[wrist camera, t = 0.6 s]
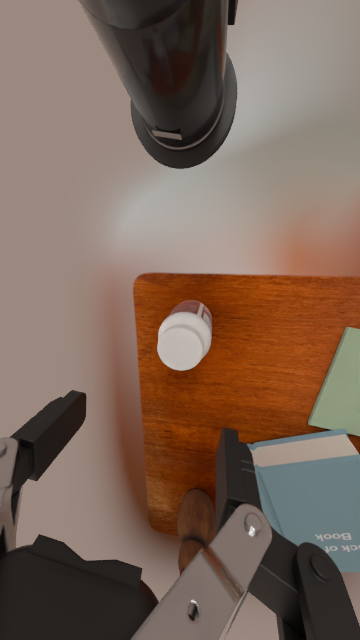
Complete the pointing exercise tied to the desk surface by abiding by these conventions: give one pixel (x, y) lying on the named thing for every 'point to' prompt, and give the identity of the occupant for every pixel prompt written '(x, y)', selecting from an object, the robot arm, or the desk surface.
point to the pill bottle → (185, 335)
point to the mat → (341, 388)
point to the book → (313, 492)
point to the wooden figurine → (195, 525)
